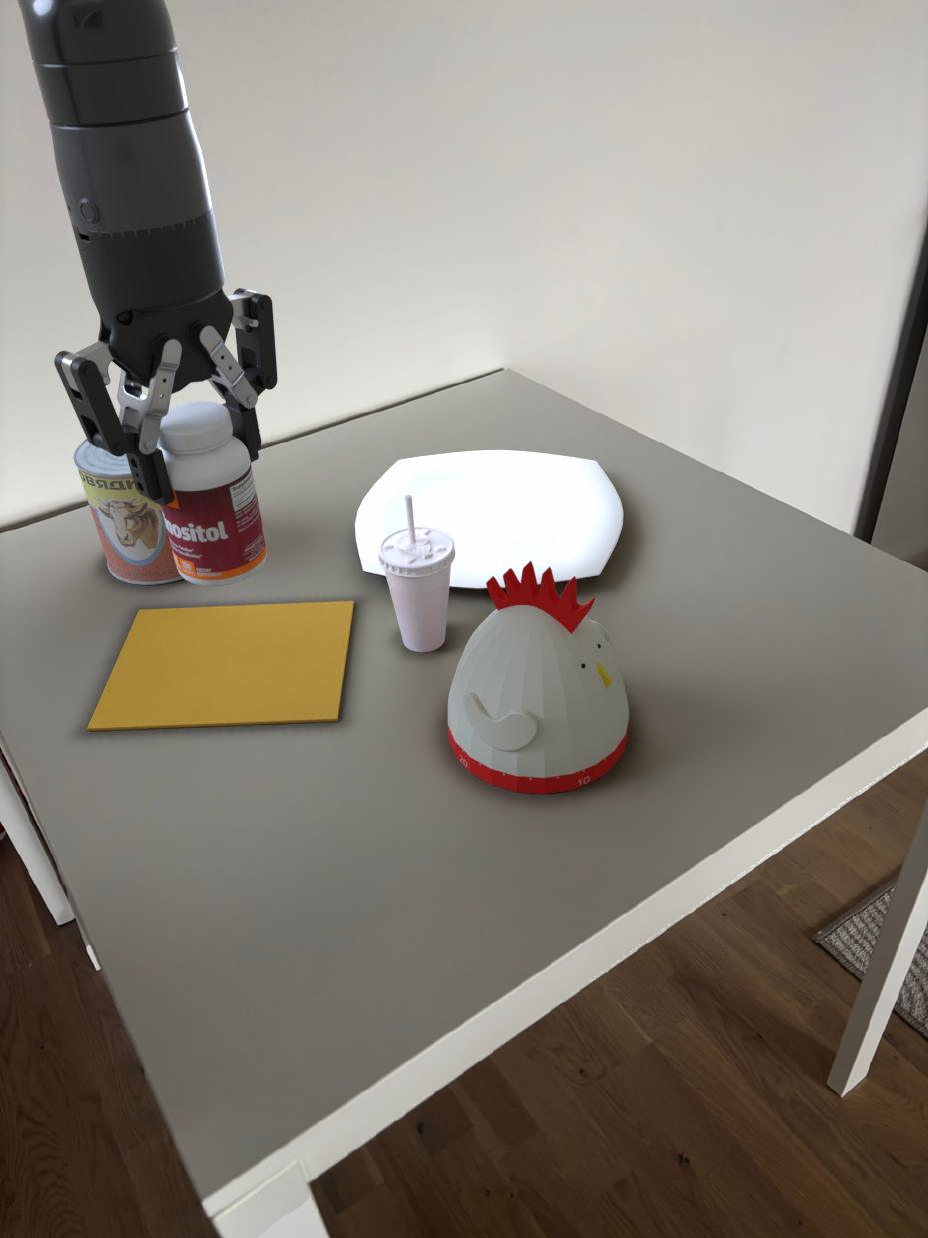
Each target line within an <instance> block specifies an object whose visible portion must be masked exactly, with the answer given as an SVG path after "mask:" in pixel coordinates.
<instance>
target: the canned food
mask: <svg viewBox="0 0 928 1238" xmlns="http://www.w3.org/2000/svg"><path fill="white" fill-rule="evenodd" d="M156 448H158V449H159V448H160V446H159V445H158V443H157V447H156ZM72 458H73V462H74V464H75V467H76V468H77V471H78V475H79V478H80V480H81V483H82V487H83V490H84V494H85V496H86V499H87V503H88V506H89V508H90V512H91V515H92V518H93V522H94V524H95V528H96V531H97V534H98V536H99V537H98V538H99V541H100V544H101V547H102V550H103V553H104V556H105V559H106V565H107V568H108V571H109V573H110V574H111V575H112V576H113V577H115V578H116V579H118V580H119V581H122V582H125V583H127V584H128V583H129V584H132V585H139V586H141V585H142V586H154V585H156V586H157V585H163V584H170V583H174V582H178V581H180V580H185V579H184V578H183V577H182V576H181V575H180V573H179V572H178V569H177V566H176V563H175V560H174V555H173V552H172V548H171V544H170V540H169V536H168V532H167V528H166V524H165V520H164V516H163V513H162V508H161V505H159V504H157V503H155V502H153V501H151V500H149V499H148V498H146V497H144V496H142V495H140V493H139V492H138V491H137V490H136V488H135V485H134V480H133V477H132V474H131V470H130V467H129V463H128V460H127V456H126V454H124V455H123V456H120V457H117V456H114V455H112V454H110V453H109V452H108V451H106V450H103V449H101V448H99V447H96V446H93V445H92V444H90V443H89V442H88V440H87V438H86V439H85V440H83V441H82V442H81V443H80V444H79V445H78V446H77V447H76V449H75V450H74V453H73V457H72Z"/></svg>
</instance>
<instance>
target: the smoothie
mask: <svg viewBox="0 0 928 1238" xmlns="http://www.w3.org/2000/svg"><path fill="white" fill-rule="evenodd" d="M405 503H406V514H407V525H408V528H403V529H400V530H397V531H394V532H392V533H390V534H389V535H387V536H386V537H385V538H383V539H382V541H381V542H380V543H379V546H378V561H379V564H380V565H381V566H382V568H383V569H384V570H385V574H386V577H385V578H386V581H387V585H388V589H389V593H390V597H391V601H392V605H393V608H394V612H395V616H396V619H397V623H398V628H399V631H400V634H401V639H402V643H403V645H404V646H405V648H407V649H408V650H410V651H411V652H416V653H428V652H433V651H436V650H437V649H439V648H441V647H442V646H443V645H444V644H445V641H446V633H447V631H446V630H447V619H448V608H449V595H450V588H449V585H450V574H451V564H452V562H453V561H454V559H455V554H456V552H455V548H454V541H453V539H452V537H451V536H450V535H449V534H447V533H446V532H444V531H442V530H439V529H436V528H432V527H425V526H416V527H414V515H413V504H412V496H411V495H406V496H405Z"/></svg>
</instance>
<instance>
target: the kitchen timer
mask: <svg viewBox="0 0 928 1238" xmlns="http://www.w3.org/2000/svg"><path fill="white" fill-rule="evenodd" d="M503 580H504V584H505V587H506V589H505V590H506V592H505V591H504V590H503V589H502V588H501V587H500V585H499V583H498V582H497V580H496V579H495V577H494V576H492V577H491V578H490V579H489V580H488V581H487V582H486V585H487V589H486V590H487V592H488V594H489V596H490V598H491V601H492V603H493V605H494V607H495V609H494V610H493V611H492V612H491V613H490V614H489V615H488V616H487V617H486V618H485V619H484V620H483V621H482V622H481V623H480V624H479V625H478V627H476V629H475V630H474V631H473V632H472V634H471V635H470V637H469V638H468V641H467V643H466V644H465V647H464V649H463V651H462V654H461V655H460V656H461V657H460V659H459V661H458V664H457V667H456V669H455V673H454V674H453V675H454V676H453V679H452V681H451V684H450V689H449V691H448V692H449V693H448V699H447V731H448V742H449V743H450V746H451V748H452V751H453V754H454V755H455V758H456V759H457V760H458V761H459V762H460V764H462V765H463V767H464V768H465V769H466V770H467V771H468V772H469V773H470V774H472V775H474V776H476V777H477V778H478V779H480V780H483V781H484V782H486V783H487V784H489V785H490V786H494V787H497V788H501V789H503V790H504V789H505V790H508V791H511V792H513V793H514V792H515V793H519V794H520V793H521V794H534V795H535V794H537V795H548V794H549V795H550V794H554V793H561V792H568V791H569V792H570V791H573V790H576V789H578V788H580V787H583V786H585V785H589V784H590V783H593V782H595V781H597V780H598V779H599V778H601V777H603V776H604V775H605V774H606V773H608V772H609V771H610V770H611V769H613V768H614V766H616V764H617V762H618V761H619V760H620V758H621V757H622V755H623V754H624V752H625V751H626V750H625V749H626V746H627V745H626V744H627V741H628V736H629V727H630V707H629V701H628V696H627V691H626V688H625V684H624V680H623V676H622V674H621V670H620V667H619V665H618V661H617V659H616V656H615V654H614V653H615V652H613V649H612V647H611V646H610V644H609V640H610V639H609V638H610V637H609V634H608V632H607V630H606V629H605V628H604V626H603V625H602V624H601V623H599V622H598V621H596V620H592V619H591V618H590V617H588V615H587V614H588V613H589V612H590V611H591V609H592V607H593V605H594V603H595V601H596V596H593V597H591V599H589V600H588V601H586V602H585V603H584V604H581V603H578V600H577V598H578V596H577V592H578V589H577V580H576V577H575V576H574V577H573V578H572V579H571V580H570V581H567V583H566V585H565V586H564V589H563V591H562V593H561V596H560V595H559V594H558V592H557V588H556V583H555V582H554V577H553V573H552V570H551V567H549V568H548V569H547V570H546V571H545V572H544V573H543V574H542V579H541V585H539V586H538V584H537V580H536V575H535V571H534V567H533V564H532V561H530V562H529V563H528V564H527V565H526V566H525V567H524V568H523V570H522V577H521V583H520V582H519V580H518V578H517V576H516V575H515V573H514V571H513V570H512V568H510V569H509V570H508V571H507V572H506V573H504V574H503Z"/></svg>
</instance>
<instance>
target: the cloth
mask: <svg viewBox="0 0 928 1238" xmlns="http://www.w3.org/2000/svg"><path fill="white" fill-rule="evenodd" d="M354 608H355V601H354V600H340V601H339V600H337V601H315V602H291V603H271V604H270V603H268V604H266V603H265V604H264V603H263V604H246V605H245V604H243V605H221V606H220V605H219V606H218V605H217V606H216V605H215V606H196V607H195V606H194V607H173V608H172V607H171V608H170V607H169V608H168V607H167V608H148V609H138V611H137V613H136V616H135V618H134V620H133V622H132V625H131V627H130V630H129V632H128V634H127V637H126V639H125V640H124V643H123V645H122V648H121V650H120V652H119V655H118V657H117V659H116V661H115V664H114V666H113V668H112V671H111V673H110V675H109V678H108V680H107V681H106V684H105V687H104V688H103V691H102V693H101V696H100V698H99V700H98V702H97V705H96V707H95V709H94V712H93V714H92V715H91V719H90V720H89V722H88V725H87V728H86V729H87V731H88V732H97V731H98V732H100V731H123V730H124V731H126V730H147V729H148V730H149V729H151V730H153V729H176V728H199V727H201V728H202V727H230V726H250V725H251V726H252V725H254V726H255V725H277V724H280V725H281V724H298V723H299V724H303V723H326V722H327V723H328V722H338V720H339V714H340V708H341V700H342V693H343V687H344V679H345V672H346V664H347V657H348V650H349V643H350V636H351V628H352V621H353V614H354Z"/></svg>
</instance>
